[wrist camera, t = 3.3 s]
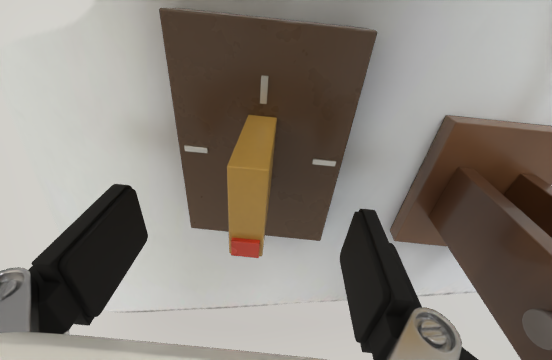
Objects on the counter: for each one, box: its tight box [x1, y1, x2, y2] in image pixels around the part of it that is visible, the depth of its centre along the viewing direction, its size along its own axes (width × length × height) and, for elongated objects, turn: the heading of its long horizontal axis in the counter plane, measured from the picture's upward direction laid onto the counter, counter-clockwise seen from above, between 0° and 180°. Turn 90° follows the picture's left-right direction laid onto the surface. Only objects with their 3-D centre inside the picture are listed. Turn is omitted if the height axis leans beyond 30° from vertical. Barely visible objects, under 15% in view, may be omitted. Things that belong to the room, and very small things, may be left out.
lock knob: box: [227, 115, 277, 258], centre depth 13 cm, size 5×2×6 cm, turn 175°
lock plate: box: [159, 8, 377, 241], centre depth 16 cm, size 14×10×2 cm
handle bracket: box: [390, 115, 552, 360], centre depth 13 cm, size 10×8×12 cm
